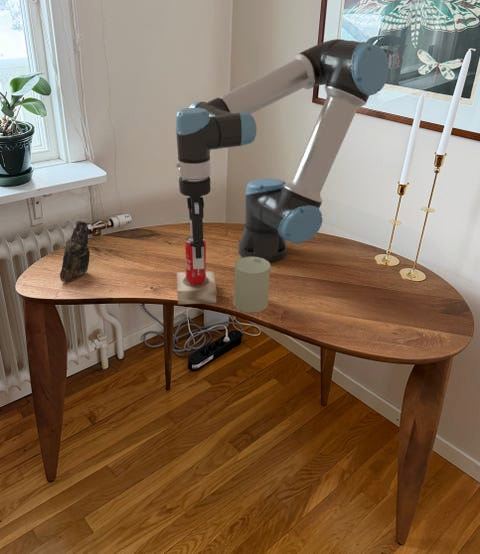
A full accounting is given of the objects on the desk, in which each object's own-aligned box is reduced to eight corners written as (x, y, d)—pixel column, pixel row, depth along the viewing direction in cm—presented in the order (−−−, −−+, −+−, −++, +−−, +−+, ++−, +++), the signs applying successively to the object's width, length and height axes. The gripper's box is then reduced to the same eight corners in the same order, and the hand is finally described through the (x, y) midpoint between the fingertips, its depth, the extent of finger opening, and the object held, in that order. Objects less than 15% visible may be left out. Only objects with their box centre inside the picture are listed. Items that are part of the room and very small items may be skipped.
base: (213, 283, 145) (213, 271, 143) (216, 302, 136) (216, 289, 134) (177, 285, 144) (176, 272, 142) (177, 304, 135) (177, 291, 133)
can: (272, 298, 139) (275, 258, 133) (262, 316, 132) (264, 274, 126) (240, 291, 142) (241, 252, 136) (228, 308, 134) (229, 267, 128)
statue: (54, 281, 144) (46, 231, 136) (83, 264, 153) (77, 216, 146) (70, 286, 142) (62, 236, 134) (98, 268, 151) (92, 220, 144)
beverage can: (202, 286, 136) (202, 245, 130) (183, 284, 136) (182, 242, 131) (207, 277, 140) (207, 236, 134) (189, 275, 141) (188, 234, 135)
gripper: (177, 161, 135) (181, 235, 145) (180, 195, 113) (184, 280, 124) (206, 160, 136) (208, 234, 146) (214, 194, 114) (215, 278, 125)
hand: (197, 255), depth 135 cm, fingers open, 13 cm apart
